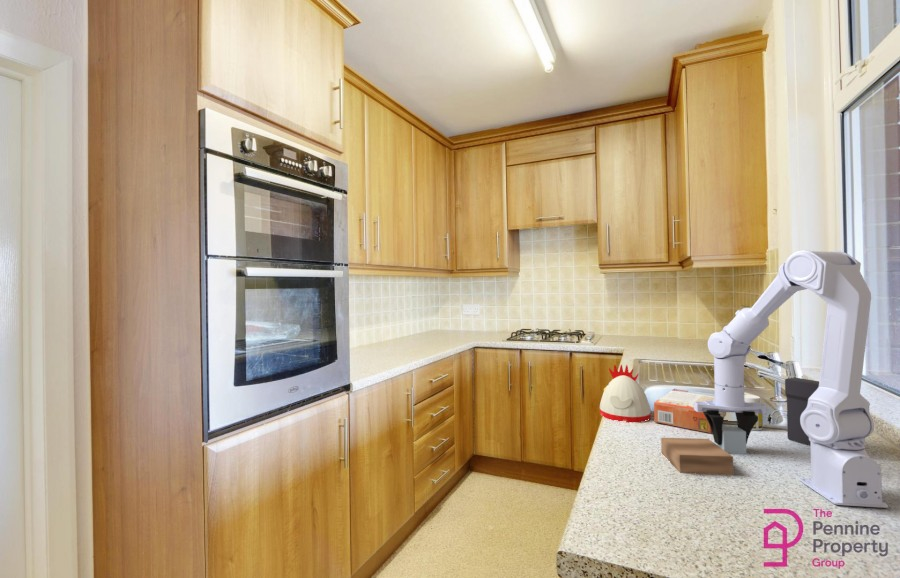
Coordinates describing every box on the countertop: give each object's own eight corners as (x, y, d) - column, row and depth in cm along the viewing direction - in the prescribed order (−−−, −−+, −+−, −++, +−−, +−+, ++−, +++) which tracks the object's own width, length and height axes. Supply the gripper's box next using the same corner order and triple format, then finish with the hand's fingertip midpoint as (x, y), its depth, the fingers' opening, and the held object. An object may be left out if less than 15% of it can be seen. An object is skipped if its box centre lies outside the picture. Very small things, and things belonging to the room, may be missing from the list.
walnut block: (733, 476, 83) (732, 456, 83) (680, 474, 84) (679, 454, 84) (708, 456, 93) (708, 438, 93) (661, 455, 94) (661, 437, 94)
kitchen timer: (604, 406, 132) (604, 359, 132) (652, 412, 125) (651, 362, 125) (595, 418, 120) (594, 366, 121) (647, 425, 113) (647, 370, 113)
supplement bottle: (755, 425, 112) (754, 394, 112) (767, 431, 108) (766, 398, 108) (736, 424, 113) (736, 394, 113) (747, 430, 108) (746, 398, 108)
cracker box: (711, 435, 106) (727, 415, 121) (711, 412, 106) (727, 394, 121) (653, 423, 115) (674, 406, 131) (652, 401, 115) (674, 387, 131)
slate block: (746, 454, 93) (745, 431, 93) (724, 453, 94) (723, 431, 94) (735, 446, 97) (735, 425, 97) (715, 445, 98) (714, 424, 98)
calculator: (852, 453, 93) (851, 385, 93) (841, 456, 91) (840, 387, 91) (796, 437, 103) (795, 376, 103) (785, 439, 101) (784, 378, 101)
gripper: (754, 381, 98) (755, 438, 98) (688, 380, 101) (689, 436, 101) (772, 388, 91) (773, 450, 91) (700, 386, 94) (701, 447, 94)
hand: (730, 443), depth 96 cm, fingers closed on slate block, 4 cm apart
